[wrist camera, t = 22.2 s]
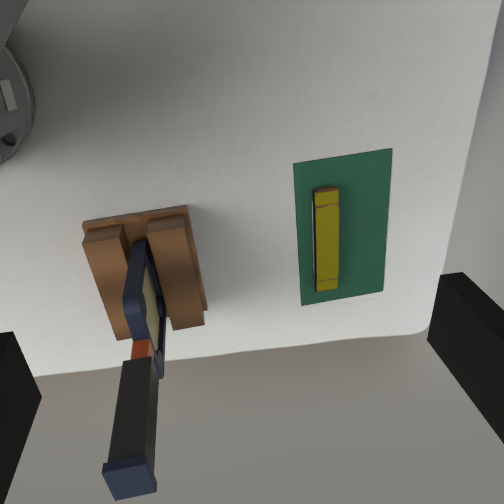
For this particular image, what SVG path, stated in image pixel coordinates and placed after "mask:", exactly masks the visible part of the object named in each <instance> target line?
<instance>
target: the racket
mask: <svg viewBox="0 0 504 504" xmlns="http://www.w3.org/2000/svg"><path fill="white" fill-rule="evenodd" d="M122 306H123V312H124V316H125V319H126V322H127V325H128V328H129V330H130V333H131V336H132V339H133V345H132V353H131V360H127V361H123V365H122V372H121V378H120V385H119V391H118V398H117V404H116V411H115V417H114V424H113V430H112V436H111V443H110V450H109V456H108V462H107V463H104V464H103V469H102V475H103V477H104V479H105V481H106V483H107V485H108V487H109V489H110V491H111V493H112V495H113V497H114V499H115V501H116V500H121V499H126V498H131V497H135V496H140V495H145V494H150V493H155V492H156V491H157V481H156V479H155V476H154V462H155V442H156V423H157V422H156V421H157V403H158V384H159V379H162V378H163V376H164V359H165V333H166V307H165V301H164V297H163V294H162V290H161V286H160V282H159V279H158V275H157V271H156V267H155V264H154V260H153V256H152V252H151V249H150V245H149V242H148V240H143V241H136V242H133V243H132V248H131V253H130V259H129V264H128V269H127V274H126V280H125V285H124V290H123V295H122Z"/></svg>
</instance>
